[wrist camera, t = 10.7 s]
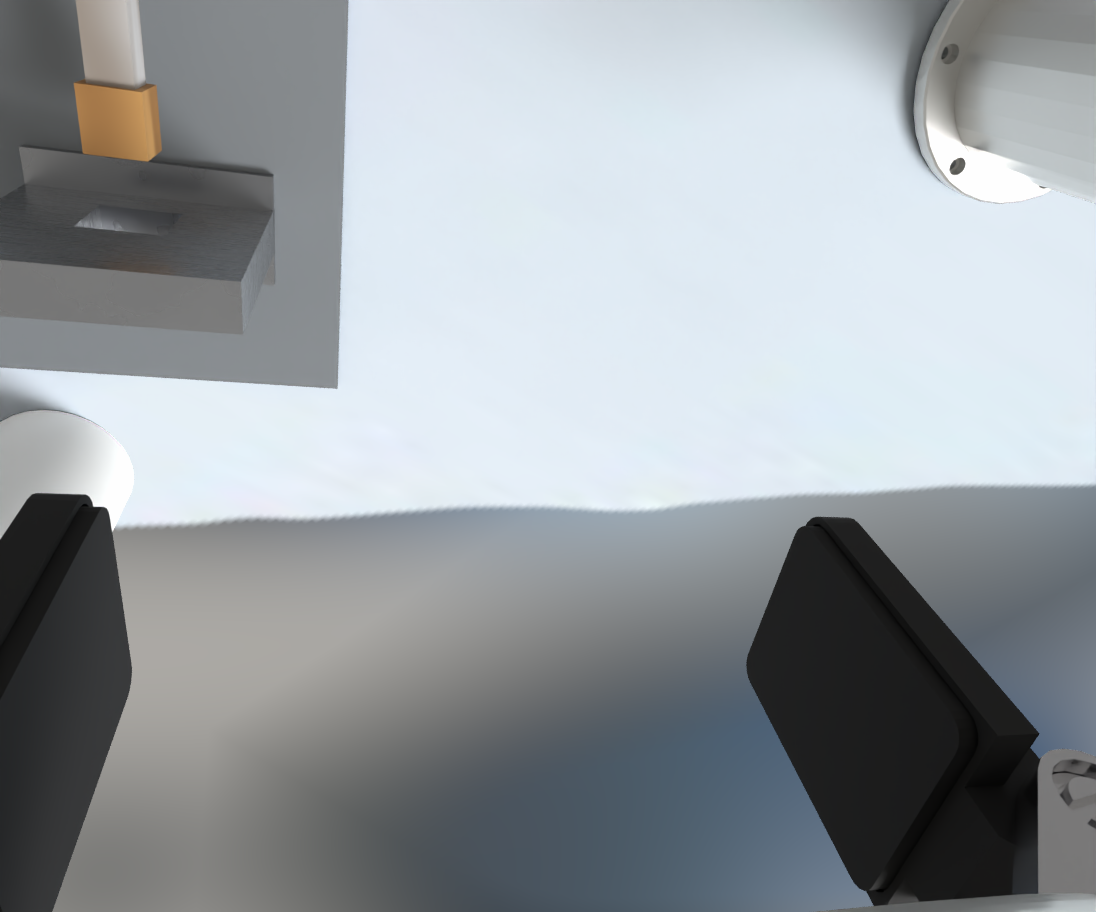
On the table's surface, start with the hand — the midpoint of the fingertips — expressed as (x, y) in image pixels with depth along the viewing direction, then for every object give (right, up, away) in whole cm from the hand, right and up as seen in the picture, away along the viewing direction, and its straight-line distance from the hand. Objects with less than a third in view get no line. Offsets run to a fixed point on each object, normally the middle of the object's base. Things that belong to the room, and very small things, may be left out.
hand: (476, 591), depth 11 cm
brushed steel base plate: (-17, +13, +25) cm, 32 cm away
